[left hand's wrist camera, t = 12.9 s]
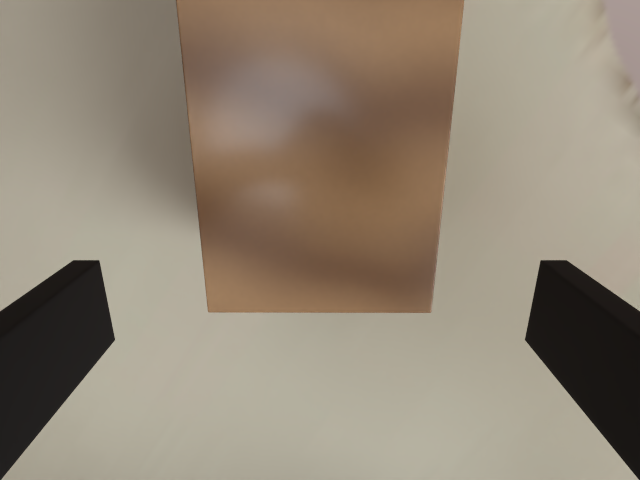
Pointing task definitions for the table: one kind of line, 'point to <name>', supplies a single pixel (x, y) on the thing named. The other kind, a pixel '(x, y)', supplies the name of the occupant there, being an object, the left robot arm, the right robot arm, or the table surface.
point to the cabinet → (319, 149)
